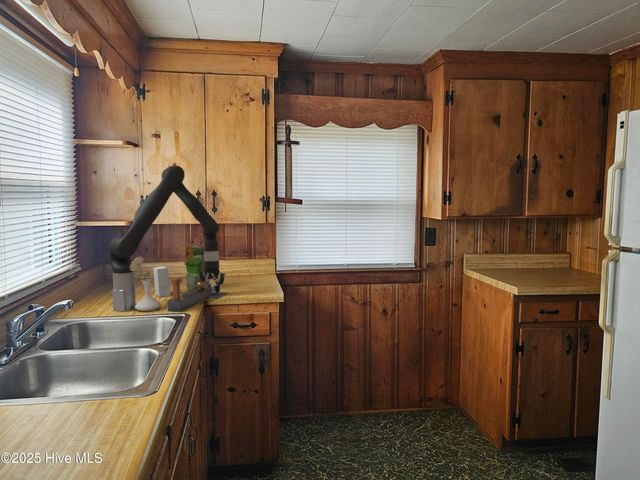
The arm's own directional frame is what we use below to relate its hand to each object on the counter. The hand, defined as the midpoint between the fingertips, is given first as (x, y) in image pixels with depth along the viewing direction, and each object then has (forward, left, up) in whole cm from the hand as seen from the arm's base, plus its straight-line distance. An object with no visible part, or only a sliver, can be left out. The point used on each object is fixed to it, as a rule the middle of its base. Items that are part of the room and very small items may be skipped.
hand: (212, 291), depth 247 cm
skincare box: (-6, +26, -2) cm, 27 cm away
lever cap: (0, 0, +1) cm, 1 cm away
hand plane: (-21, +1, -2) cm, 21 cm away
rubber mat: (0, 0, -2) cm, 2 cm away
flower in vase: (-34, +15, -2) cm, 37 cm away
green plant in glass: (+11, +16, -2) cm, 20 cm away
